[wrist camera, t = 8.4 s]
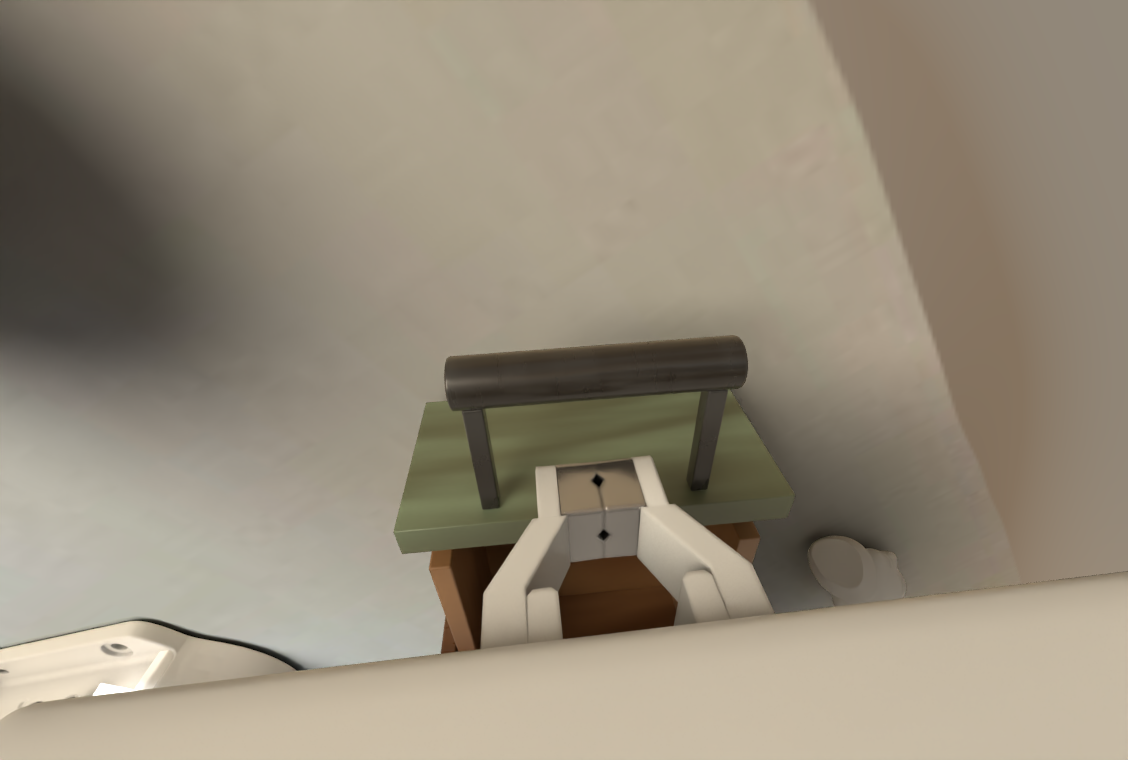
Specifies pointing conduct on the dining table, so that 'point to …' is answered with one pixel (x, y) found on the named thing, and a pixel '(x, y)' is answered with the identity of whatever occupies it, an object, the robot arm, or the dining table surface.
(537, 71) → the dining table surface
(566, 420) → the drawer
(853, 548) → the white mannequin head
